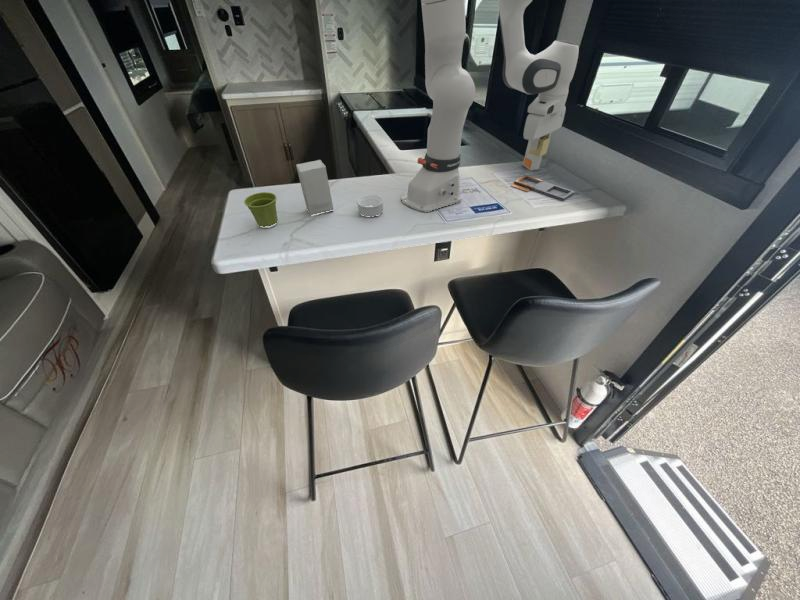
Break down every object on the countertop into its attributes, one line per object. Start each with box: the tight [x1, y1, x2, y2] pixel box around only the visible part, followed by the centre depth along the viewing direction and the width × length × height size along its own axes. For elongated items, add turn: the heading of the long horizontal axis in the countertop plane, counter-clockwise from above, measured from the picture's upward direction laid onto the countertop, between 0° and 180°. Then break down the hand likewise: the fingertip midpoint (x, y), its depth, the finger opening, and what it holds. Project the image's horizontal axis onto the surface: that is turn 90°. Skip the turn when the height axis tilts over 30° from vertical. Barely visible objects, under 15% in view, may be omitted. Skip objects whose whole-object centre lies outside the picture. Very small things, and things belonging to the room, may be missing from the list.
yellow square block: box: [528, 136, 551, 157], centre depth 115 cm, size 4×4×6 cm
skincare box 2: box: [522, 140, 544, 171], centre depth 132 cm, size 6×4×12 cm
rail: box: [510, 174, 575, 202], centre depth 120 cm, size 11×20×1 cm, turn 43°
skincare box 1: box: [295, 159, 334, 216], centre depth 105 cm, size 8×7×16 cm
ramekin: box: [356, 194, 384, 217], centre depth 108 cm, size 9×9×4 cm
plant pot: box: [243, 191, 279, 227], centre depth 101 cm, size 9×9×9 cm
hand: (538, 147), depth 115 cm, fingers closed on yellow square block, 4 cm apart
